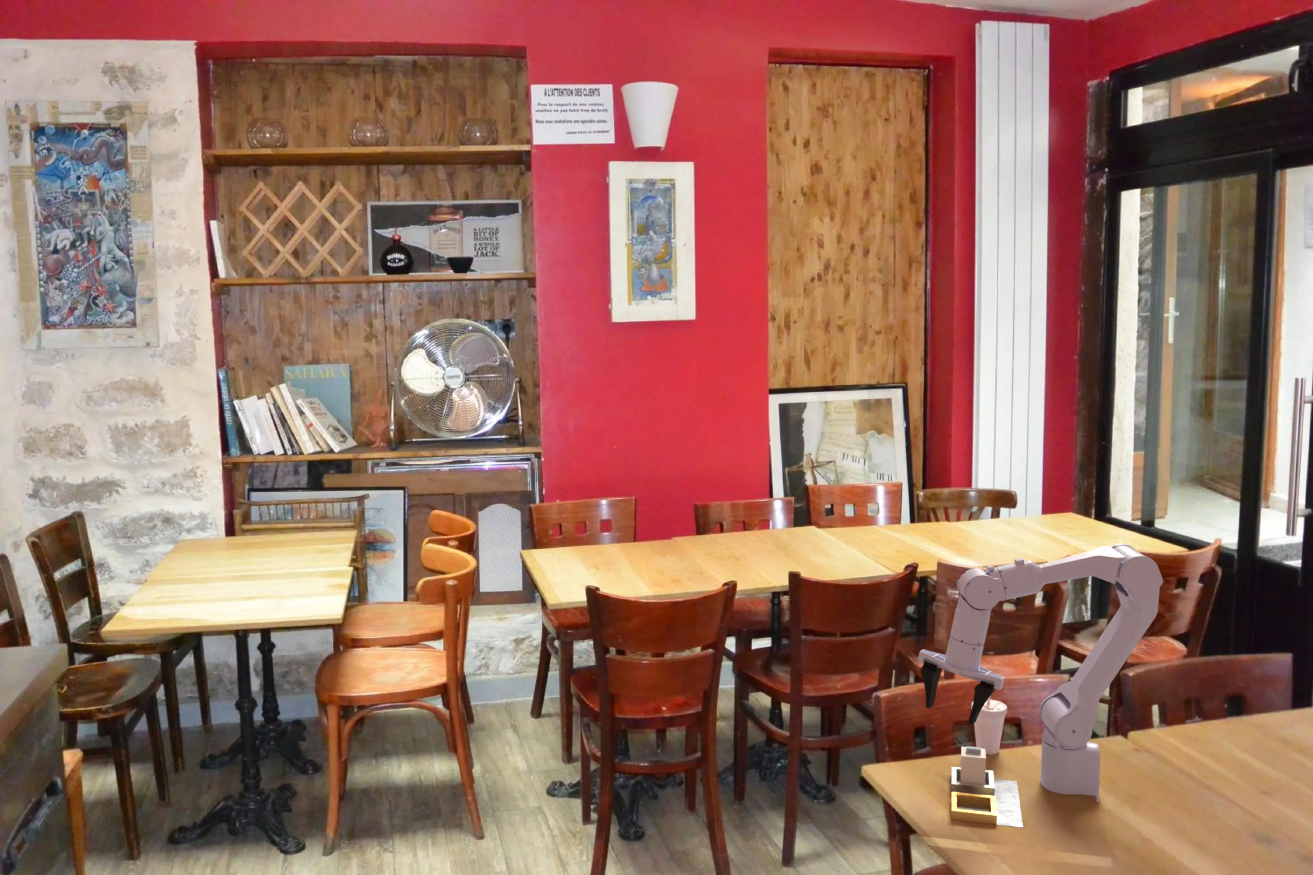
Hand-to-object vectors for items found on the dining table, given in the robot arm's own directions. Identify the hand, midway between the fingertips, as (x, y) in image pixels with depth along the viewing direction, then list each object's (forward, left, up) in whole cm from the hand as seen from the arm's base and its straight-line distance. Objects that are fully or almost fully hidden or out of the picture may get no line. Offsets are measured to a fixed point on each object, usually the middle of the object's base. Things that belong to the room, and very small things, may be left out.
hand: (950, 714), depth 190 cm
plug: (-4, 0, -12) cm, 13 cm away
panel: (-6, +5, -13) cm, 16 cm away
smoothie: (-7, -16, -14) cm, 22 cm away
